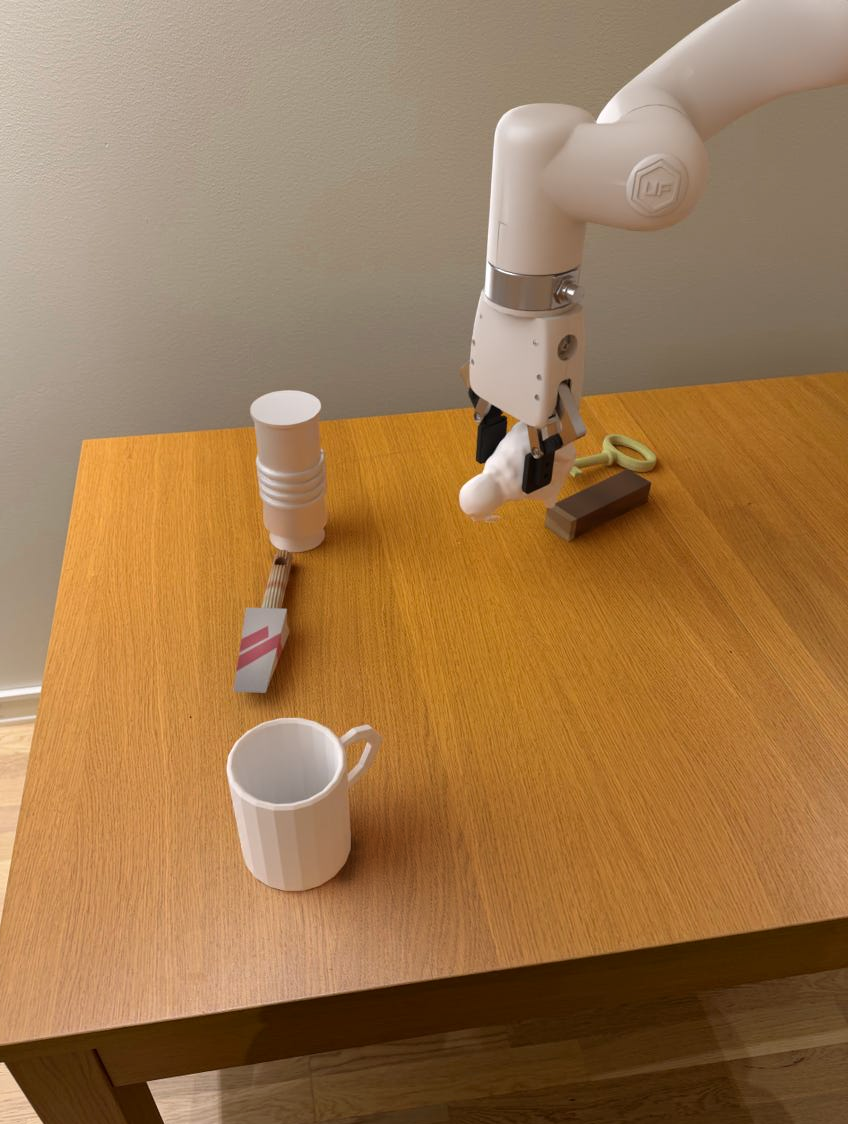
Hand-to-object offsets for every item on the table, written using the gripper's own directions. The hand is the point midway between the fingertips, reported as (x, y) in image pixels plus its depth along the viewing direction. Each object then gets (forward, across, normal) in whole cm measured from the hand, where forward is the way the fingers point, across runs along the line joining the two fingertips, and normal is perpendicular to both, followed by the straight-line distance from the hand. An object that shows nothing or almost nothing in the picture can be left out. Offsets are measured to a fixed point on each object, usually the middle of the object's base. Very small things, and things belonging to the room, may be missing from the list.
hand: (512, 471), depth 86 cm
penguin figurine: (+4, 0, 0) cm, 4 cm away
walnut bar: (+11, 0, -14) cm, 17 cm away
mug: (+11, -17, +34) cm, 39 cm away
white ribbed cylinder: (+11, +16, +14) cm, 24 cm away
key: (+11, +6, -21) cm, 25 cm away
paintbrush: (+11, +5, +25) cm, 27 cm away
